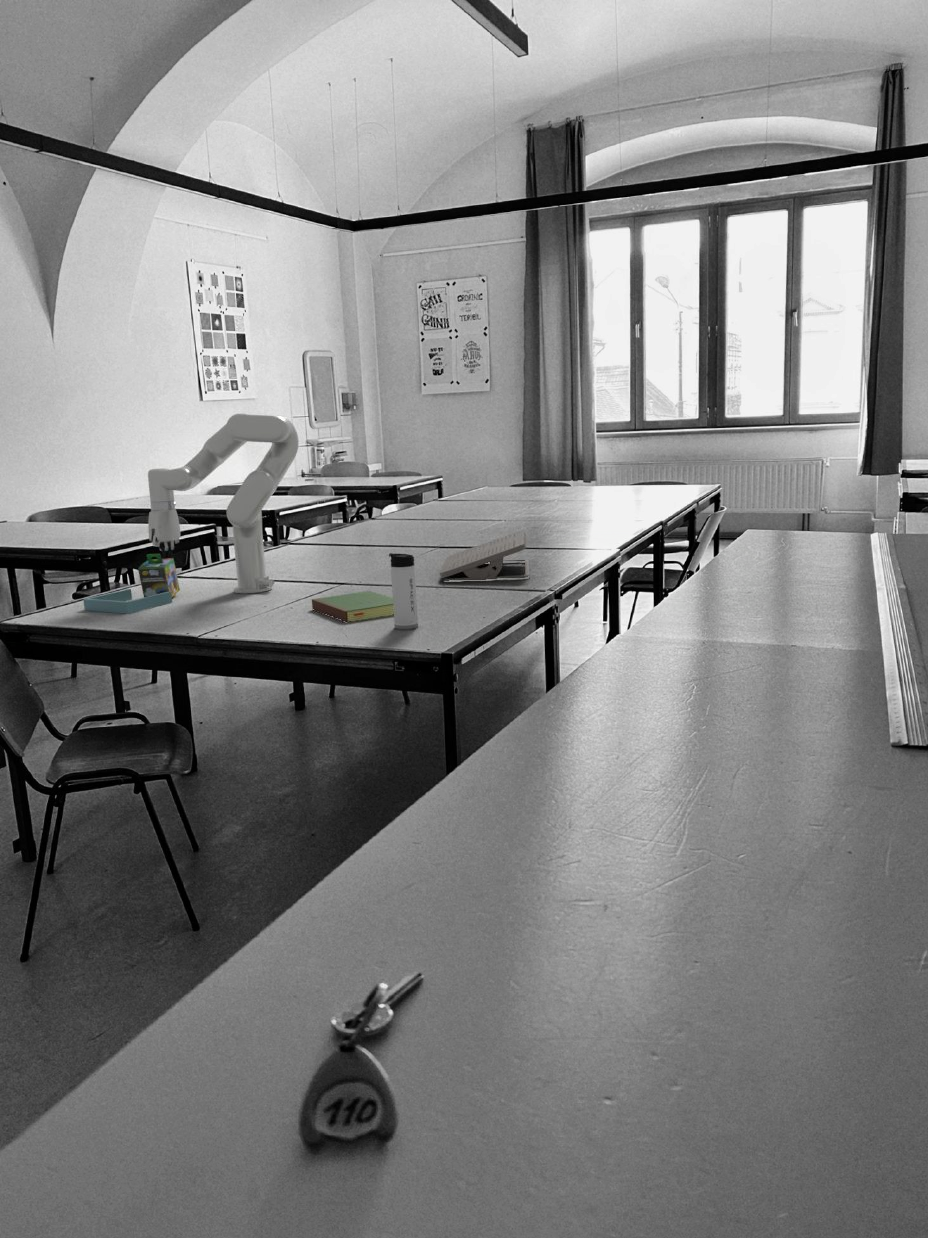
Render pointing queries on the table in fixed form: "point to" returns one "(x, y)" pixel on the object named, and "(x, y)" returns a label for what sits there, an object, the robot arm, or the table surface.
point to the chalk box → (158, 576)
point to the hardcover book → (355, 606)
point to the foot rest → (485, 559)
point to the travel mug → (404, 591)
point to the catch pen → (119, 605)
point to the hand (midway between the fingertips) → (168, 562)
